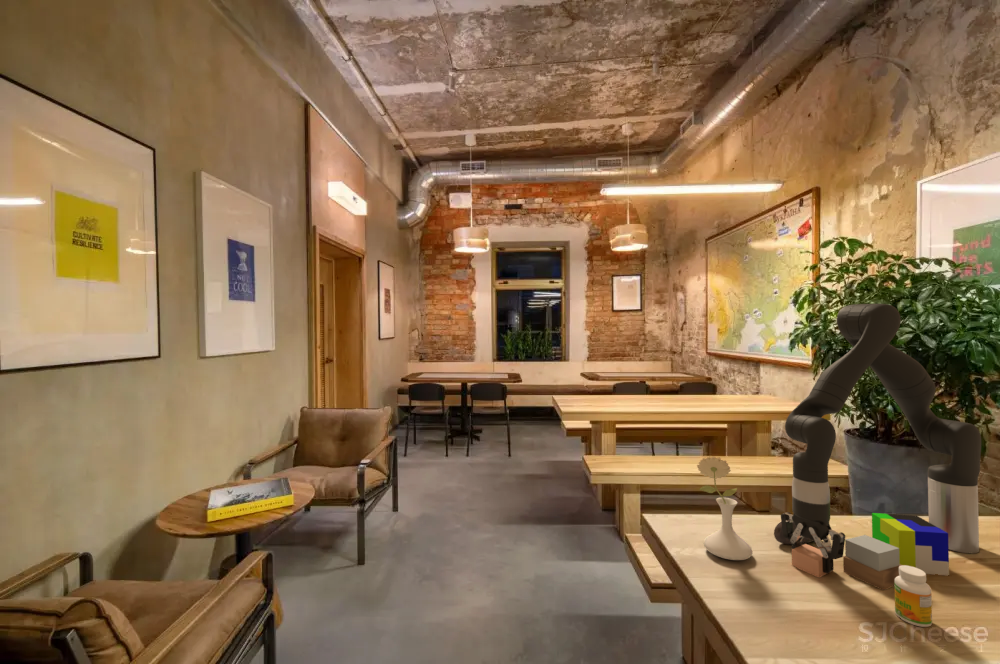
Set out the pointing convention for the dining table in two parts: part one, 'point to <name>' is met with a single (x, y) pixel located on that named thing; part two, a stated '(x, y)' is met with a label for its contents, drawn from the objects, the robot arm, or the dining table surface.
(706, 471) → the flower in vase
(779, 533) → the perforated stone tool
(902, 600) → the supplement bottle
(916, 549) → the puzzle toy
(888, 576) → the tower base
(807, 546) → the clay block
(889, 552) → the tower top
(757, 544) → the dining table surface
